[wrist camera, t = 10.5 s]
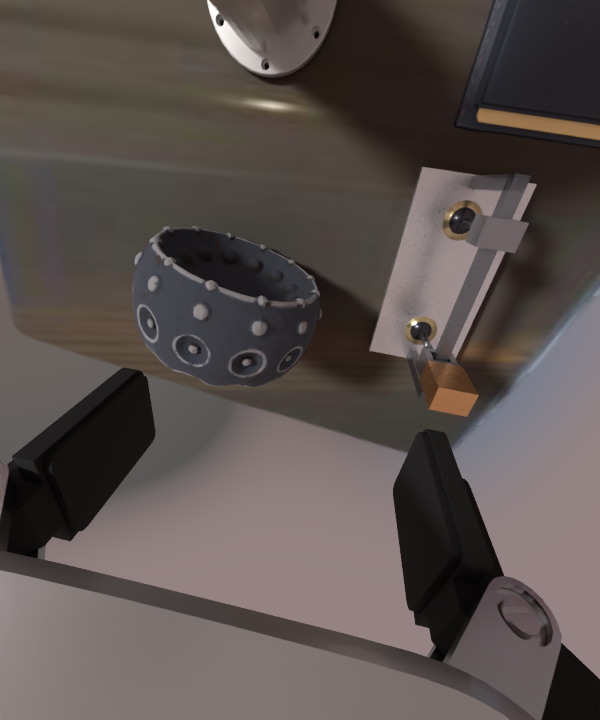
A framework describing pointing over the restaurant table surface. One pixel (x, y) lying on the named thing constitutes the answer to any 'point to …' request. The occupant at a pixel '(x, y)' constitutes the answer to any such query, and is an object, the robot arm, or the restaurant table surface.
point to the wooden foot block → (444, 382)
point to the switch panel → (448, 260)
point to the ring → (222, 307)
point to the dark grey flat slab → (537, 72)
